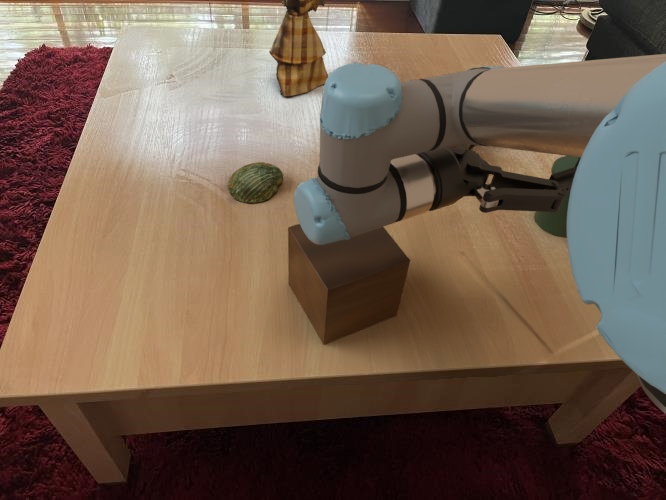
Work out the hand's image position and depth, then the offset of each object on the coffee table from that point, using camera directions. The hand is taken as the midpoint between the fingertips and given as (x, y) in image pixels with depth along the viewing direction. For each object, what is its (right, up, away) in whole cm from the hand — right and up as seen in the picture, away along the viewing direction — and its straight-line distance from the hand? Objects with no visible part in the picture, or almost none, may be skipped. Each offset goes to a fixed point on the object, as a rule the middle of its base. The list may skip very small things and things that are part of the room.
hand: (550, 143), depth 71 cm
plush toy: (-38, +24, +50) cm, 67 cm away
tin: (+10, -9, +22) cm, 26 cm away
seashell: (-43, -3, +24) cm, 50 cm away
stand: (-28, -22, +7) cm, 36 cm away
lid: (+11, -2, +15) cm, 18 cm away
